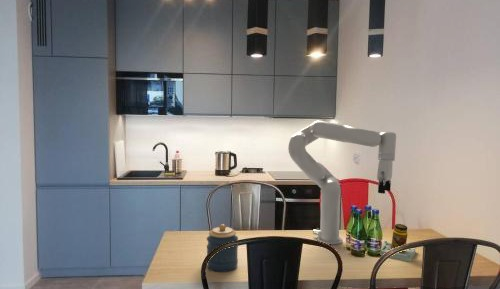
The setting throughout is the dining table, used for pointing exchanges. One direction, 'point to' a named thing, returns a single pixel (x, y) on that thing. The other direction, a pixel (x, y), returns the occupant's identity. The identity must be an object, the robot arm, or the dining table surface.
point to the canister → (225, 257)
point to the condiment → (399, 237)
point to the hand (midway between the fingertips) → (384, 191)
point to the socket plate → (403, 256)
